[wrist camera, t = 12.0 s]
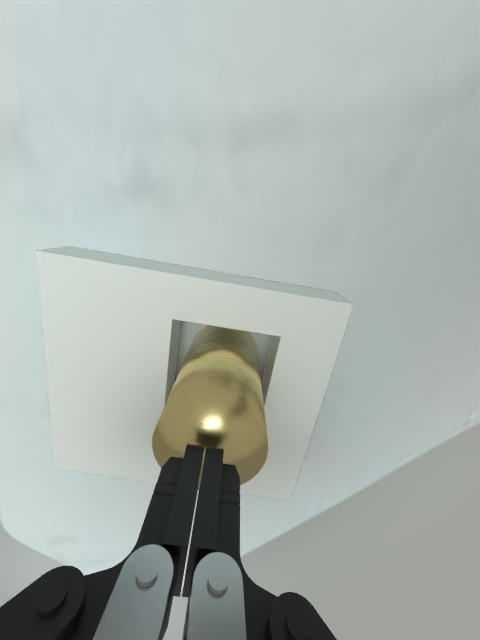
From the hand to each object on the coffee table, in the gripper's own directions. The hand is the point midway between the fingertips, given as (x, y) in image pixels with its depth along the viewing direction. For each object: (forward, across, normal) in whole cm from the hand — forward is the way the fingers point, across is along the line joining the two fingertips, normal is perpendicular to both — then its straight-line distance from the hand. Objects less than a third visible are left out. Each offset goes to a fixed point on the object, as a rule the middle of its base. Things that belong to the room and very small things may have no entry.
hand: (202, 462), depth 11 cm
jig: (+10, +2, +2) cm, 10 cm away
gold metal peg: (+10, 0, 0) cm, 10 cm away
